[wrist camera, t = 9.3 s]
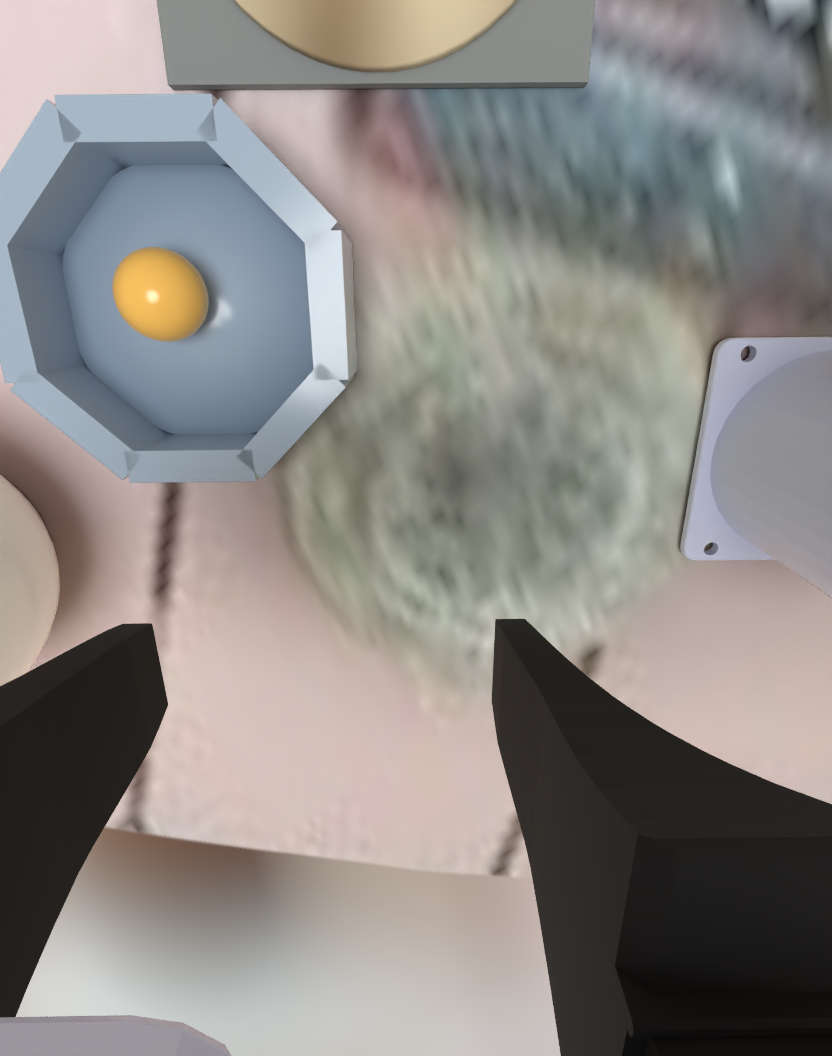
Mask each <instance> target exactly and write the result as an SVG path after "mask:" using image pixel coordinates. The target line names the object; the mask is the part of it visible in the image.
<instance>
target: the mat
mask: <svg viewBox="0 0 832 1056" xmlns="http://www.w3.org/2000/svg"><path fill="white" fill-rule="evenodd" d="M157 6H158V14H159V21H160V28H161V36H162V43H163V50H164V58H165V65H166V73H167V80H168V85H169V86H170V87H171V88H172V89H173V90H242V89H386V88H529V87H585V86H586V84H587V83H588V79H589V67H590V55H591V43H592V30H593V18H594V6H595V0H517V1H516V2H515V4H514V5H513V6H512V7H511V8H510V10H509V11H508V12H507V13H506V14H505V15H504V16H503V17H502V18H501V19H499V20H498V21H497V22H496V23H495V24H494V25H493V26H492V27H491V28H490V29H489V30H488V31H487V32H485V33H484V34H482V35H481V36H480V37H478V38H477V39H475V40H474V41H473V42H471V43H470V44H468V45H467V46H466V47H464V48H462V49H460V50H458V51H456V52H455V53H453V54H451V55H449V56H447V57H445V58H443V59H441V60H438V61H435V62H432V63H429V64H426V65H423V66H420V67H417V68H413V69H407V70H401V71H395V72H359V71H353V70H346V69H340V68H337V67H334V66H330V65H327V64H324V63H321V62H318V61H315V60H313V59H311V58H309V57H307V56H304V55H302V54H300V53H298V52H296V51H294V50H292V49H290V48H289V47H287V46H286V45H284V44H283V43H281V42H280V41H278V40H277V39H275V38H274V37H272V36H271V35H269V34H268V33H267V32H265V31H264V30H263V29H262V28H261V27H260V26H259V25H257V24H256V23H255V22H254V21H253V20H252V19H251V18H249V17H248V16H247V15H246V14H245V13H244V12H243V11H242V10H241V9H240V7H239V6H238V5H237V4H236V3H235V2H234V1H233V0H157Z"/></svg>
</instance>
